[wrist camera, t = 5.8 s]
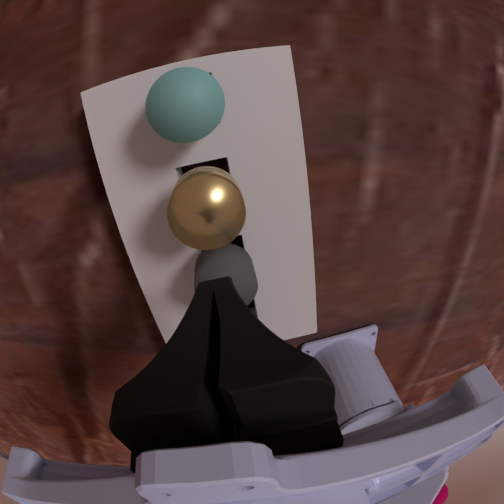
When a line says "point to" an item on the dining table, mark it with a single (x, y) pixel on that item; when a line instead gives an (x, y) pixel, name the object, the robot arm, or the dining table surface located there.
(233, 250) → the dark grey rounded knob
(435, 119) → the dining table surface
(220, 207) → the brass dome cap
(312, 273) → the console
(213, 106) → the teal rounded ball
